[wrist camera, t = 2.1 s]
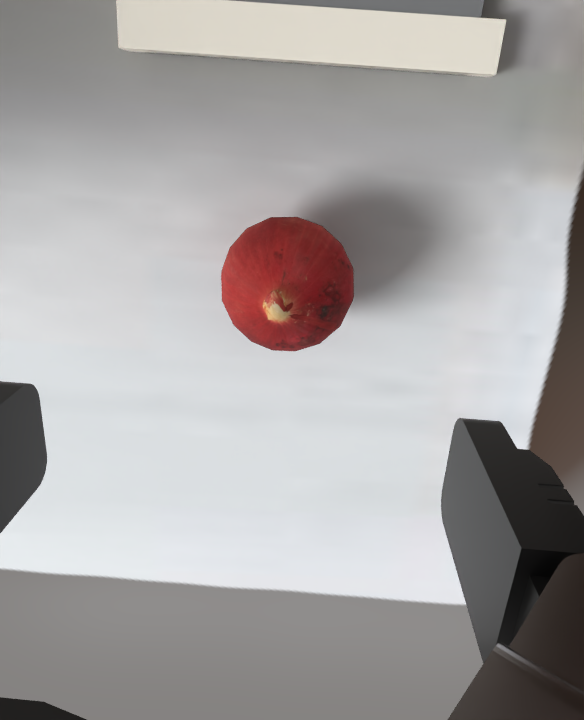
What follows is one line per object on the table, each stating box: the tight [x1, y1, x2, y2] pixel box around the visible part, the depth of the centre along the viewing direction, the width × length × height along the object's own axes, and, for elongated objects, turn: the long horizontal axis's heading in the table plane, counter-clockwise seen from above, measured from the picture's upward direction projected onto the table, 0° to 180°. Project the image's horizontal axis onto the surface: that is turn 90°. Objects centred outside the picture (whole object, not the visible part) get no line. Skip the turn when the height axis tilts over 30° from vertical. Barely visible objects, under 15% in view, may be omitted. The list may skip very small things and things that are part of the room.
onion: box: [221, 217, 354, 351], centre depth 24 cm, size 6×6×8 cm
